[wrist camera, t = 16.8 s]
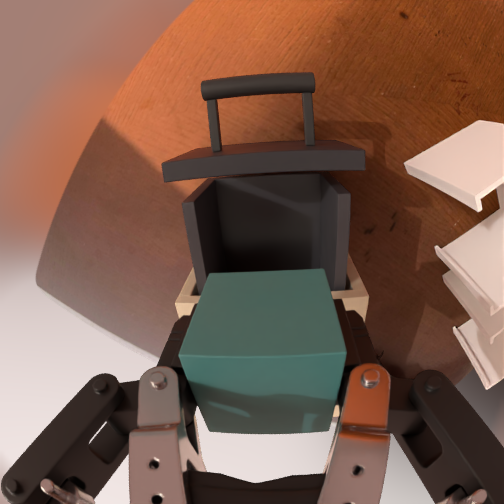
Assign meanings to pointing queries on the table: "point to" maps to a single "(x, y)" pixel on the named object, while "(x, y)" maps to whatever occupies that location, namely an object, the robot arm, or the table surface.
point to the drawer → (267, 192)
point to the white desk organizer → (473, 238)
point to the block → (265, 352)
